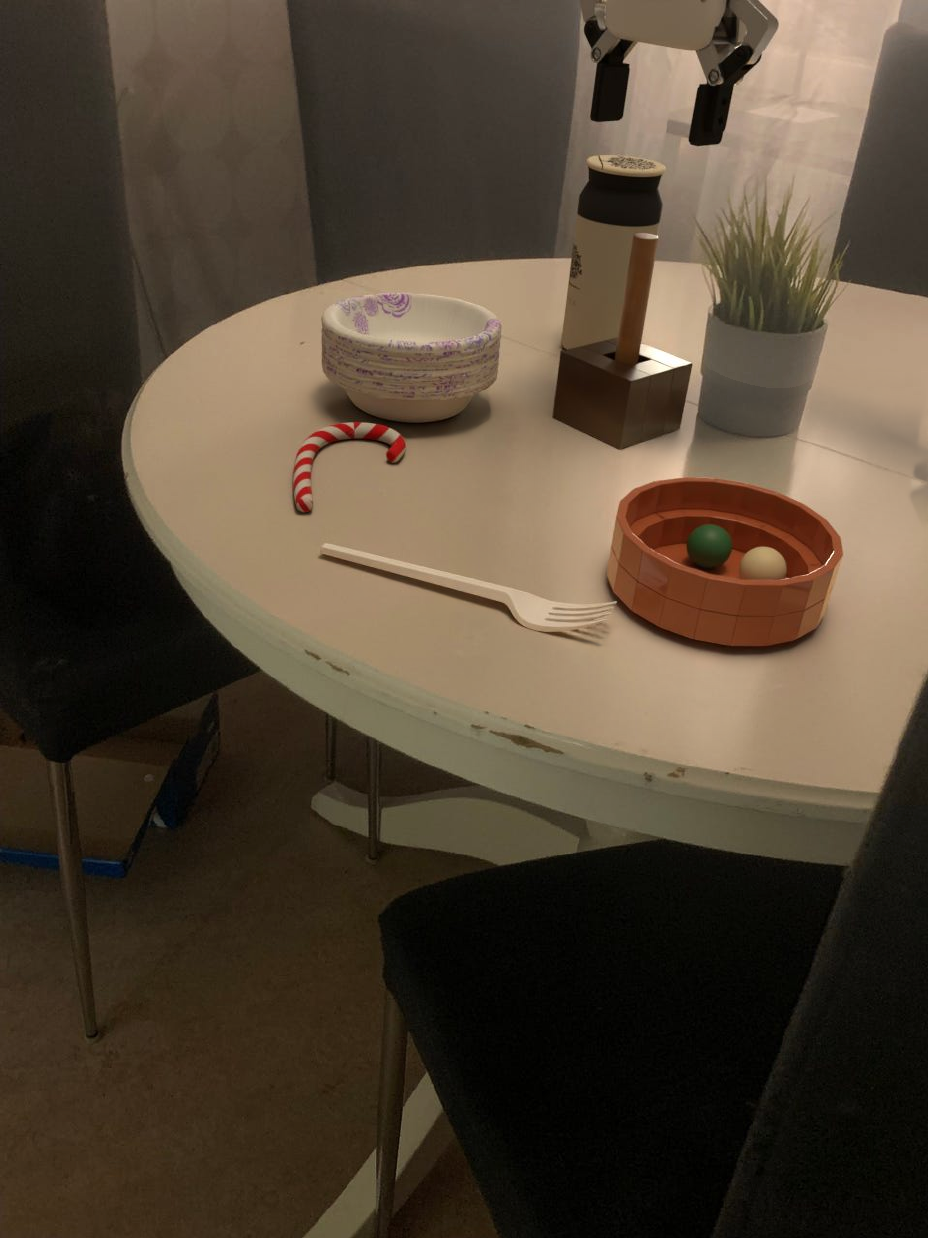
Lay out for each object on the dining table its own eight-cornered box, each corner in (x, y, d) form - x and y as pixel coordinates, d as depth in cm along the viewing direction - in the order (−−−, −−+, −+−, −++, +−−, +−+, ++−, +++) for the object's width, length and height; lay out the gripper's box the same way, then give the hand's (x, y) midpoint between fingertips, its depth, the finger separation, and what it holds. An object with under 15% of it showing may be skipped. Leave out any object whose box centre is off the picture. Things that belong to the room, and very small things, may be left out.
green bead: (701, 550, 75) (709, 512, 74) (736, 568, 73) (745, 529, 72) (673, 562, 73) (681, 523, 72) (708, 581, 72) (717, 542, 70)
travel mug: (639, 341, 114) (669, 159, 104) (636, 367, 107) (668, 175, 97) (564, 332, 114) (587, 150, 105) (556, 356, 108) (580, 165, 98)
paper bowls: (383, 360, 104) (386, 276, 99) (524, 399, 98) (533, 312, 93) (285, 408, 92) (283, 316, 88) (437, 455, 86) (443, 359, 82)
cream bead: (752, 572, 73) (762, 533, 71) (789, 592, 71) (800, 552, 70) (725, 586, 71) (735, 546, 70) (762, 606, 70) (773, 566, 68)
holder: (612, 398, 100) (622, 335, 96) (680, 428, 95) (693, 363, 91) (552, 417, 95) (560, 350, 92) (619, 449, 90) (631, 380, 87)
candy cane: (257, 491, 76) (323, 412, 89) (258, 507, 77) (323, 427, 89) (363, 508, 75) (415, 427, 88) (363, 525, 76) (414, 441, 88)
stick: (615, 416, 96) (644, 231, 87) (632, 424, 95) (663, 237, 86) (600, 421, 95) (628, 234, 86) (617, 429, 94) (647, 240, 85)
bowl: (695, 521, 80) (708, 460, 77) (864, 606, 72) (885, 541, 69) (562, 578, 72) (571, 511, 69) (735, 682, 63) (753, 610, 61)
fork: (332, 544, 73) (332, 520, 72) (615, 622, 68) (619, 597, 67) (309, 566, 71) (308, 540, 70) (600, 649, 65) (604, 623, 64)
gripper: (840, -135, 69) (777, 151, 79) (636, -144, 80) (602, 110, 89) (772, -146, 65) (714, 158, 74) (566, -154, 75) (538, 114, 85)
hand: (653, 131), depth 82 cm, fingers open, 9 cm apart
